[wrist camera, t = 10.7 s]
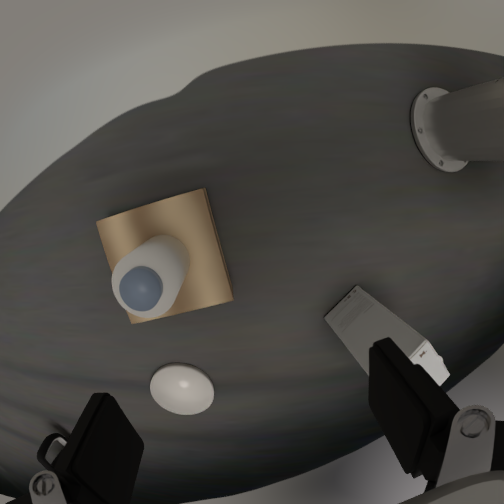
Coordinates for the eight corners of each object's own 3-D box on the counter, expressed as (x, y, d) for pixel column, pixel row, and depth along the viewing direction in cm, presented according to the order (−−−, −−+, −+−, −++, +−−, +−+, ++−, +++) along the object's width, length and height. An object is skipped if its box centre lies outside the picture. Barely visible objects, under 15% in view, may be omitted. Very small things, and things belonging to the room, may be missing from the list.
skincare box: (322, 316, 37) (373, 389, 22) (358, 280, 36) (428, 336, 21) (356, 349, 39) (408, 419, 23) (389, 317, 38) (453, 375, 23)
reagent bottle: (182, 228, 29) (162, 247, 20) (196, 279, 30) (183, 317, 21) (133, 241, 28) (97, 264, 19) (148, 290, 30) (120, 329, 21)
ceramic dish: (202, 357, 36) (201, 362, 35) (221, 404, 39) (221, 409, 37) (141, 368, 36) (139, 373, 35) (166, 412, 38) (165, 417, 37)
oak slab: (205, 187, 32) (202, 188, 28) (232, 287, 35) (233, 300, 31) (109, 217, 31) (95, 221, 28) (140, 309, 34) (131, 324, 30)
